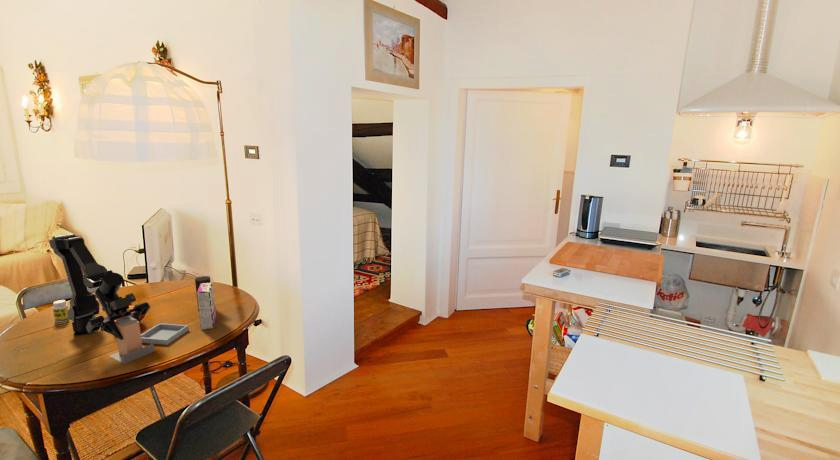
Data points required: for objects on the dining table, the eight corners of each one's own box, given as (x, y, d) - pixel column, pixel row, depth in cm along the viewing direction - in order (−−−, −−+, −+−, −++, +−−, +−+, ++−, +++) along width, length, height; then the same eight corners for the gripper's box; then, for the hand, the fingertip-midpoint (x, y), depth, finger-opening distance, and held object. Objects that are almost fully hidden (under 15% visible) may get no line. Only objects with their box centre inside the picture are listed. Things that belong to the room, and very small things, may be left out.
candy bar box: (203, 319, 176) (200, 283, 173) (216, 317, 178) (213, 281, 174) (200, 330, 166) (196, 292, 163) (213, 328, 168) (210, 291, 164)
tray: (136, 343, 155) (135, 337, 154) (160, 328, 167) (159, 323, 166) (167, 345, 154) (166, 340, 153) (188, 330, 166) (188, 325, 165)
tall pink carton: (119, 353, 147) (114, 320, 144) (134, 347, 151) (129, 315, 148) (128, 358, 144) (123, 324, 141) (143, 352, 148) (138, 319, 145)
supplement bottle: (53, 323, 169) (49, 304, 167) (56, 319, 173) (53, 300, 171) (68, 321, 171) (64, 302, 169) (71, 317, 175) (68, 298, 173)
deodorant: (215, 309, 186) (212, 278, 182) (201, 313, 182) (197, 281, 178) (209, 306, 190) (206, 275, 186) (196, 309, 185) (192, 278, 182)
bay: (109, 356, 145) (107, 349, 145) (139, 344, 154) (138, 337, 153) (124, 364, 141) (123, 357, 140) (154, 352, 149) (153, 344, 148)
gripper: (84, 297, 136) (106, 336, 133) (144, 281, 152) (165, 315, 149) (77, 314, 141) (98, 351, 139) (135, 296, 157) (155, 330, 155)
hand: (130, 336), depth 145 cm, fingers closed on tall pink carton, 5 cm apart
